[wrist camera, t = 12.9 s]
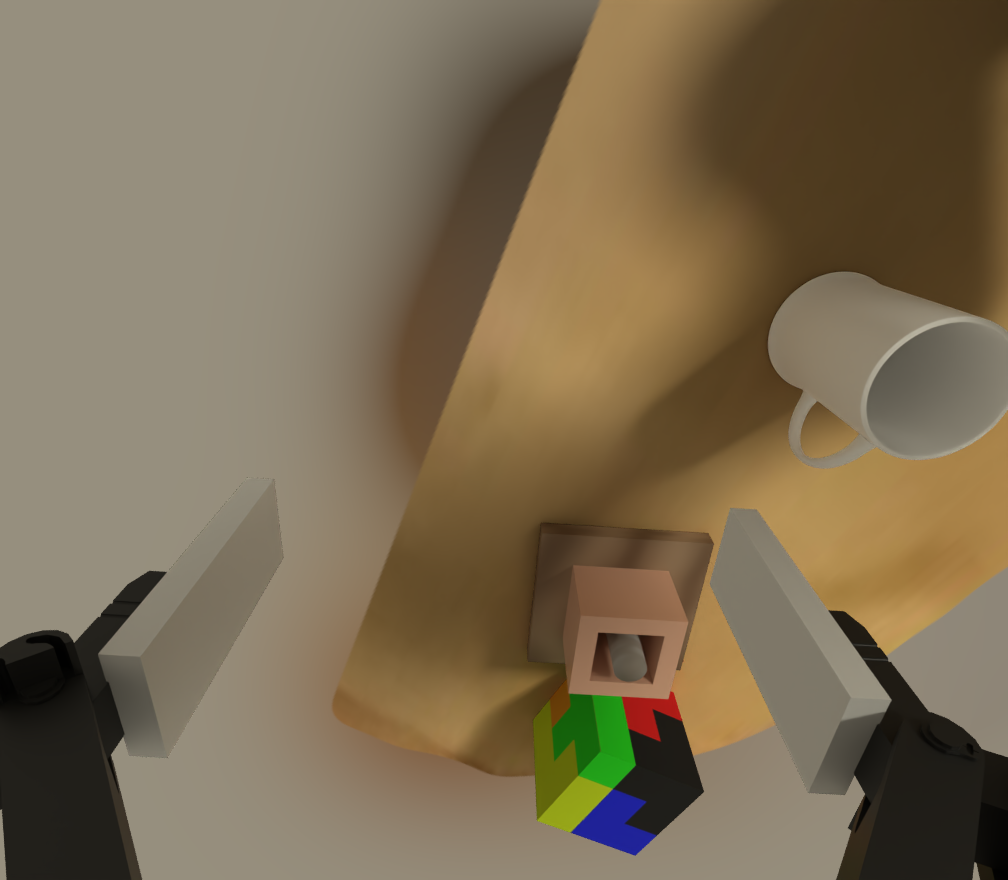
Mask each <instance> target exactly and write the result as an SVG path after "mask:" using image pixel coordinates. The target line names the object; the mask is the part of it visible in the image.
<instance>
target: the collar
mask: <svg viewBox="0 0 1008 880" xmlns="http://www.w3.org/2000/svg"><path fill="white" fill-rule="evenodd" d="M687 626H688V620H687V617H686V614H685V612H684V609H683V607H682V604H681V601H680V599H679V596H678V594H677V591H676V589H675V586H674V583H673V581H672V578H671V576H670V573H669V571H660V570H644V569H628V568H612V567H595V566H579V565H573V569H572V576H571V583H570V590H569V597H568V604H567V611H566V618H565V625H564V632H563V647H564V656H565V665H566V675H567V684H568V693H570V694H587V695H605V696H622V697H639V698H657V699H668V698H669V695H670V691H671V687H672V683H673V679H674V676H675V672H676V668H677V664H678V660H679V656H680V653H681V649H682V645H683V641H684V637H685V634H686V630H687ZM606 633H618V634H634V635H639V639H640V643H641V646H642V650H643V654H644V658H645V661H646V665H647V672H646V674H645V675H644V676H643V677H642V678H641V679H639V680H637V681H632V682H626V681H622V680H620V679H618V678H617V677H616V676H615V674H614V670H613V665H612V660H611V655H610V650H609V645H608V640H607V635H606Z"/></svg>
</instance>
